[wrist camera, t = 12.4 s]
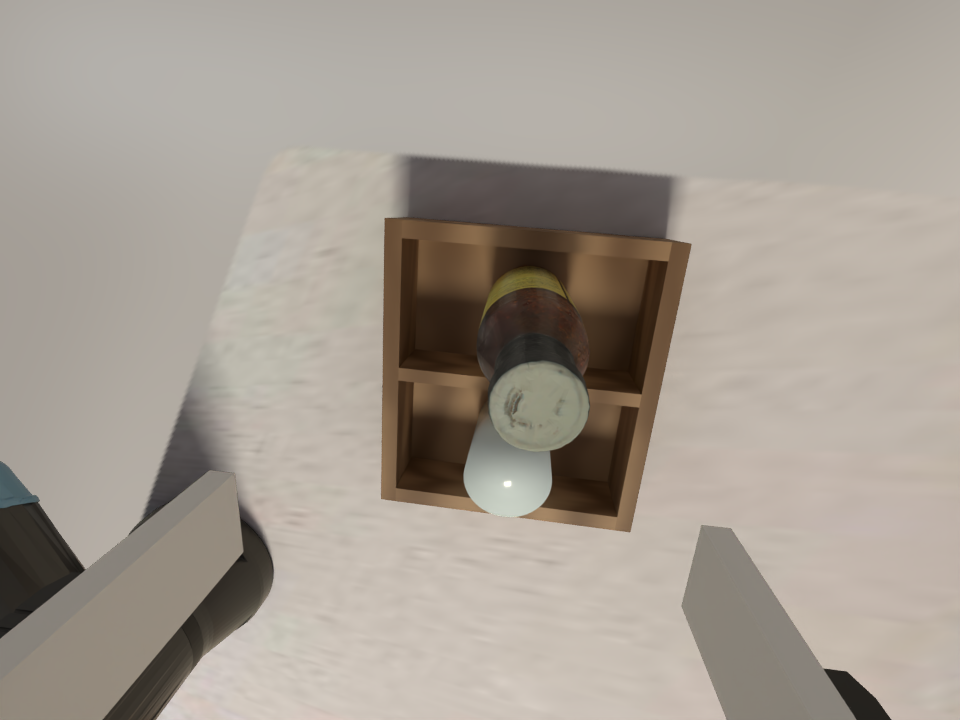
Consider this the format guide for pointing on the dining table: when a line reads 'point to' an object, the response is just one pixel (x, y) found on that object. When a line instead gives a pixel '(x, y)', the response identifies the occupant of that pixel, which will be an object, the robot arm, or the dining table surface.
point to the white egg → (505, 473)
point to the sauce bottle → (534, 360)
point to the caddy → (464, 389)
